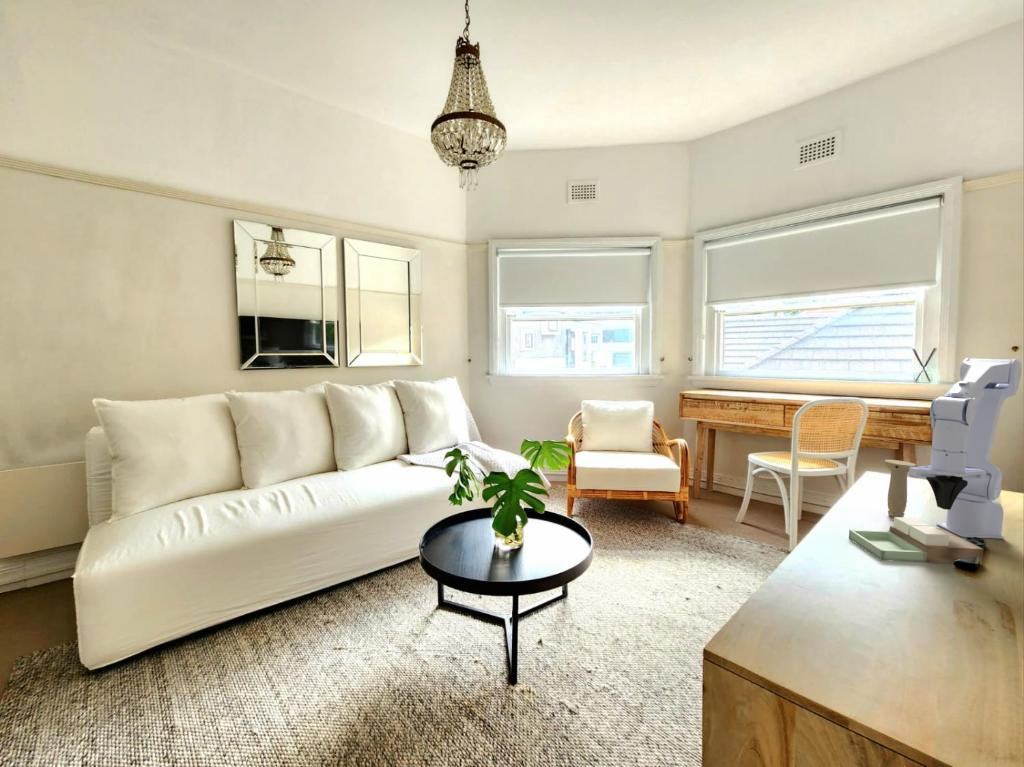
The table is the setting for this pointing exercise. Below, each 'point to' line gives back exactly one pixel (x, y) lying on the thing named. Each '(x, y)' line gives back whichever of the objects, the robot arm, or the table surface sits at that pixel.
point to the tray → (887, 546)
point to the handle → (897, 486)
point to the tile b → (929, 535)
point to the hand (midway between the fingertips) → (943, 508)
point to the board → (945, 548)
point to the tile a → (907, 524)
